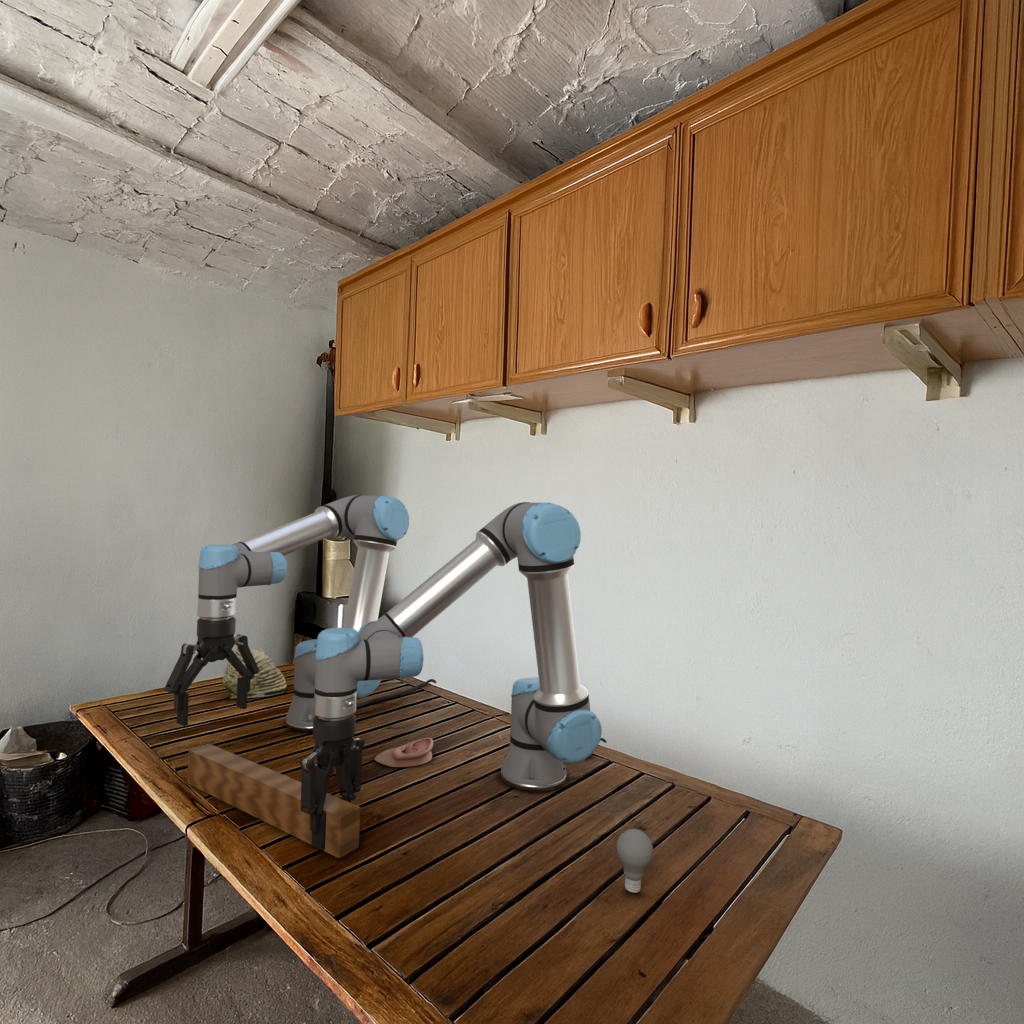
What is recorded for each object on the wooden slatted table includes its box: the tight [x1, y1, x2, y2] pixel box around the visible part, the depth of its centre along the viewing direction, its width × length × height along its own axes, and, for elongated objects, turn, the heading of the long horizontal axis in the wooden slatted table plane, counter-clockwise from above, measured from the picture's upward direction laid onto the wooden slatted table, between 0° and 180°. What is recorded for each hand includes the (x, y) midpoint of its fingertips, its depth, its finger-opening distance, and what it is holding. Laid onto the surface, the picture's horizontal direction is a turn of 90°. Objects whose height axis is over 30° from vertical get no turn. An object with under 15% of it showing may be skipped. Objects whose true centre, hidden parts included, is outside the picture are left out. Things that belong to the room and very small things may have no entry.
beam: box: [186, 743, 361, 859], centre depth 126 cm, size 47×5×7 cm, turn 57°
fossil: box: [222, 647, 288, 699], centre depth 198 cm, size 9×18×15 cm, turn 132°
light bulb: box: [615, 828, 654, 894], centre depth 106 cm, size 6×6×10 cm
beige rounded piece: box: [374, 737, 434, 768], centre depth 155 cm, size 13×4×12 cm
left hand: (213, 715), depth 136 cm, fingers open, 13 cm apart
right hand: (330, 840), depth 116 cm, fingers closed on beam, 5 cm apart
